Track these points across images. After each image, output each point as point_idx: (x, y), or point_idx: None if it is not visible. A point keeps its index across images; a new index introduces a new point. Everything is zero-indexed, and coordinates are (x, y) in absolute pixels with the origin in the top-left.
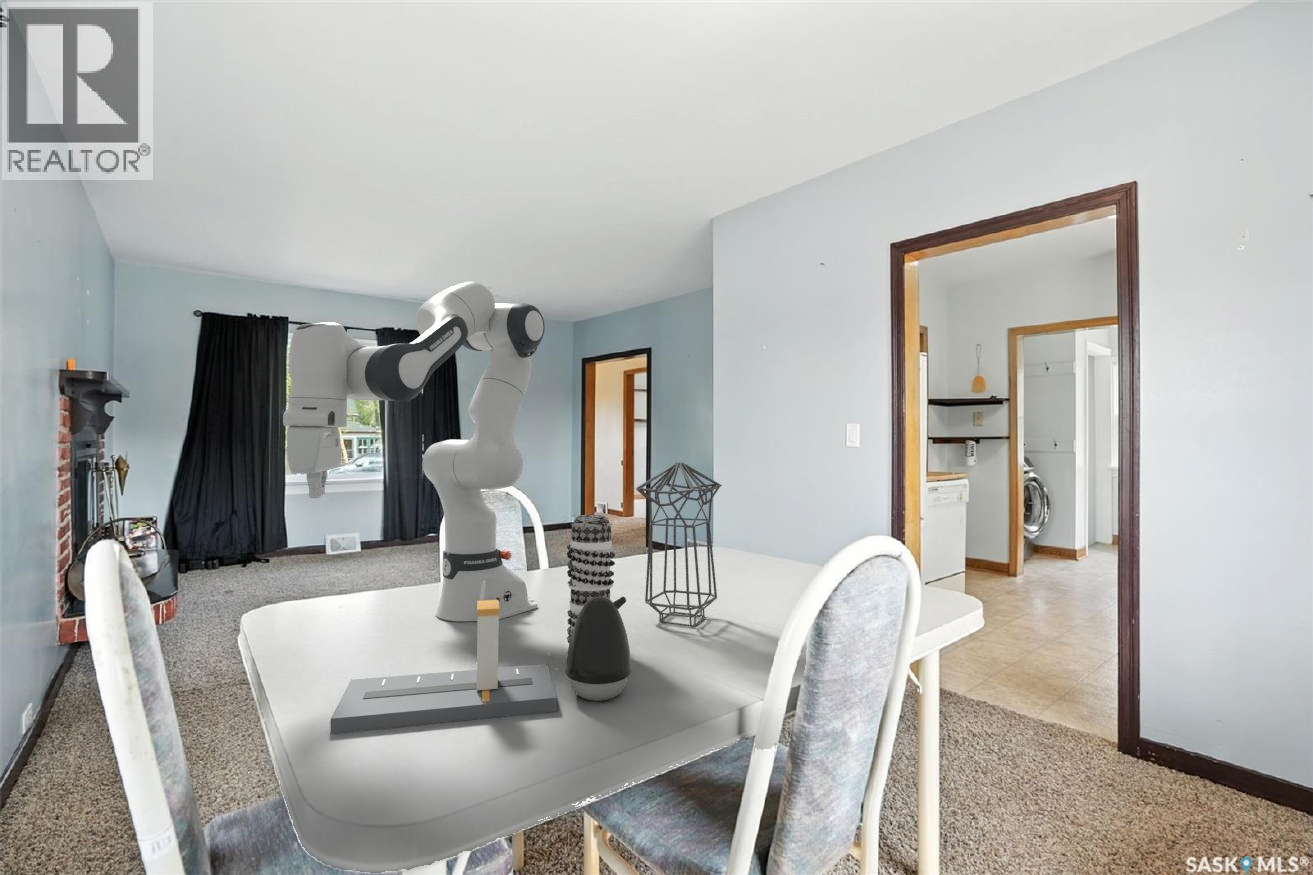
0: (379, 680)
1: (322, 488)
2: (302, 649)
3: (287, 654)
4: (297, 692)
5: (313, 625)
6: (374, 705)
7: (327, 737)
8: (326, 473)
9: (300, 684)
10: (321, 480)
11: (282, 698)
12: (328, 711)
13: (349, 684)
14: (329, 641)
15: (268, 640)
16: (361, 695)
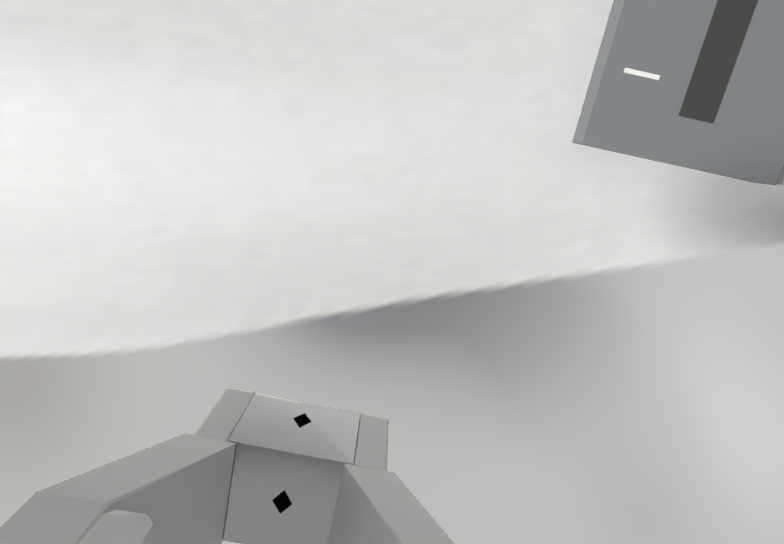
0: (621, 82)
1: (307, 445)
2: (231, 240)
3: (258, 270)
4: (515, 241)
5: (24, 220)
6: (761, 102)
7: (766, 187)
8: (69, 537)
9: (471, 237)
10: (397, 527)
11: (534, 265)
12: (647, 185)
13: (610, 146)
14: (186, 182)
15: (132, 313)
16: (691, 125)
